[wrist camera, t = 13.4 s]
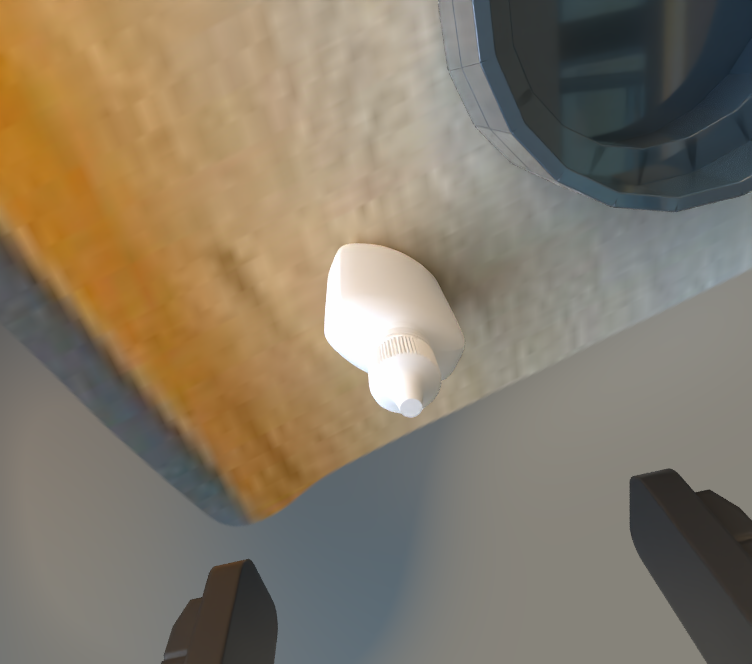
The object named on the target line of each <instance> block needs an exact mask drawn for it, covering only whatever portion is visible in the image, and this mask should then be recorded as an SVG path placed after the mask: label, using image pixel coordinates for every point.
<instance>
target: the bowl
mask: <svg viewBox="0 0 752 664" xmlns="http://www.w3.org/2000/svg"><path fill="white" fill-rule="evenodd" d="M438 2H439V3H438V7H439V14H440V21H441V27H442V34H443V41H444V47H445V54H446V61H447V67H448V71H449V74H450V76H451V78H452V80H453V82H454V85H455V87H456V89H457V91H458V93H459V95H460V97H461V99H462V101H463V104H464V106H465V108H466V110H467V112H468V114H469V116H470V118H471V120H472V122H473V124H474V125H475V127H476V128H477V129H478V130H479V131H480V132H481V133H482V134H483V135H484V136H485V137H486V138H487V140H488V141H489V142H490V143H491V144H492V145H493V146H494V147H495V148H496V149H497V150H498V151H499V152H500V153H501V154H502V155H503V156H504V157H505V158H506V159H507V160H508V161H509V162H510V163H512V164H513V165H515V166H517V167H519V168H521V169H524V170H526V171H528V172H530V173H532V174H534V175H537V176H539V177H541V178H543V179H545V180H547V181H550V182H552V183H554V184H556V185H558V186H561V187H563V188H566V189H568V190H571V191H573V192H576V193H578V194H581V195H583V196H585V197H588V198H590V199H593V200H595V201H598V202H600V203H602V204H605V205H607V206H610V207H614V208H625V209H638V210H652V211H665V212H678V211H682V210H686V209H690V208H694V207H698V206H703V205H707V204H711V203H715V202H719V201H723V200H727V199H731V198H735V197H739V196H741V195H745V194H746V193H748V192H750V191H752V0H438Z"/></svg>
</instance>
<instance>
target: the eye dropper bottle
mask: <svg viewBox="0 0 752 664" xmlns="http://www.w3.org/2000/svg"><path fill="white" fill-rule="evenodd" d="M325 337H326V339H327V341H328V342H329V344H330V345H331V346H332V347H333V348H334V349H335V350H336V351H337V352H338V353H339V354H340V355H341V356H343V357H344V358H345V359H346V360H348V361H349V362H350V363H352V364H353V365H355V366H356V367H358V368H359V369H361V370H363V371H365V372H367V373H368V375H369V386H370V390H371V393H372V396H373V398H374V399H375V401H377V403H378V404H380V406H383V408H386V409H387V410H389V411H392V412H396V413H402V414H403V415H404V416H406V417H415V416H417V415H419V414H420V413H421V411H422V408H424V407H426V406H427V405H429V404H430V403H431V402H432V401H433V400H434V399H435V397H436V396H437V394H438V391H439V390H440V387H441V384H442V383H441V381H442V380H444V379H446V378H447V377H448V376H449V375H451V373H452V372H453V370H454V369H455V367H456V365H457V363H458V361H459V359H460V358H461V355H462V353H463V351H464V346H465V339H464V336H463V333H462V331H461V329H460V326H459V324H458V322H457V320H456V318H455V316H454V314H453V312H452V310H451V308H450V306H449V304H448V302H447V300H446V298H445V296H444V294H443V292H442V290H441V288H440V286H439V284H438V282H437V280H436V279H435V277H434V276H433V275H432V274H431V273H430V272H429V271H428V270H427V269H426V268H425V267H423V266H422V265H421V264H420V263H418V262H417V261H415V260H414V259H412V258H411V257H409V256H407V255H405V254H403V253H401V252H399V251H397V250H394V249H391V248H388V247H384V246H380V245H374V244H364V243H352V244H346V245H344V246H341V247H340V249H339V250H338V251H337V253H336V256H335V258H334V261H333V263H332V266H331V269H330V271H329V275H328V284H327V296H326V310H325Z"/></svg>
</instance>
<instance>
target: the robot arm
mask: <svg viewBox="0 0 752 664" xmlns="http://www.w3.org/2000/svg"><path fill="white" fill-rule="evenodd" d="M630 532H631V536H632V540H633V543H634V545H635V548H636V550H637V552H638V554H639V556H640V558H641V560H642V562H643V563H644V565H645V566H646V568H647V569H648V571H649V573H650V574H651V576H652V577H653V579H654V580H655V582H656V584H657V585H658V587H659V588H660V590H661V591H662V593H663V594H664V596H665V598H666V599H667V601H668V602H669V604H670V606H671V607H672V609H673V610H674V612H675V613H676V615H677V617H678V618H679V620H680V621H681V623H682V624H683V626H684V628H685V629H686V631H687V632H688V634H689V635H690V637H691V639H692V640H693V642H694V643H695V645H696V646H697V648H698V650H699V651H700V653H701V654H702V656H703V658H704V659H705V661H706V662H707V664H752V520H751V519H750V518H749V517H748V516H747V515H746V514H745V513H744V512H743V511H742V510H741V509H740V508H739V507H738V506H736V505H734V504H732V503H731V502H729V501H728V500H726V499H724V498H723V497H721V496H719V495H718V494H716V493H714V492H713V491H711V490H705V491H700V492H694V491H693V490H692V489H691V488H690V486H689V485H688V484H687V483H686V482H685V481H684V480H683V478H682V477H681V476H680V475H679V474H678V473H677V472H676V471H674V470H673V469H664V470H660V471H655V472H651V473H646V474H641V475H637V476H633V477H631V479H630ZM277 632H278V623H277V614H276V609H275V605H274V602H273V600H272V598H271V596H270V594H269V593H268V591H267V589H266V587H265V585H264V583H263V581H262V579H261V577H260V575H259V573H258V571H257V569H256V567H255V565H254V564H253V562H252V561H251V560H250V559H246V560H241V561H237V562H233V563H228V564H223V565H219V566H215V567H213V568H212V569H211V571H210V573H209V575H208V579H207V583H206V586H205V590H204V593H203V597H201V598H197V599H192V600H190V601H189V603H188V604H187V606H186V607H185V609H184V610H183V612H182V613H181V615H180V616H179V618H178V620H177V621H176V623H175V624H174V626H173V628H172V631H171V634H170V637H169V641H168V644H167V647H166V650H165V653H164V661H162V663H161V664H274V658H275V650H276V642H277Z"/></svg>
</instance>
